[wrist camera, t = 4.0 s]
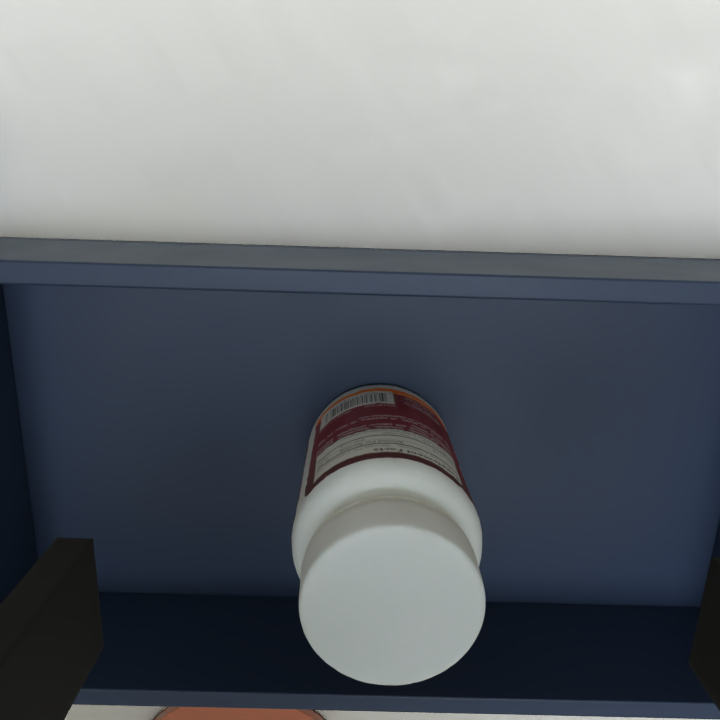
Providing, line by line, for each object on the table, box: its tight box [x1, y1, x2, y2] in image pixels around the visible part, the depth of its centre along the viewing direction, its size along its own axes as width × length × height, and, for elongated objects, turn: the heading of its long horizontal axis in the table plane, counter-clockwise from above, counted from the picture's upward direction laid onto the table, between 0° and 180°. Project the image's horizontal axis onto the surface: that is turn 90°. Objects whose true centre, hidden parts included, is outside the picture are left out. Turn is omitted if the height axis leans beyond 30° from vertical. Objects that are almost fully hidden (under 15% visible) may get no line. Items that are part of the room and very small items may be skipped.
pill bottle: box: [291, 385, 485, 685], centre depth 17 cm, size 5×5×8 cm
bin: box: [0, 237, 720, 719], centre depth 19 cm, size 25×13×5 cm, turn 88°
